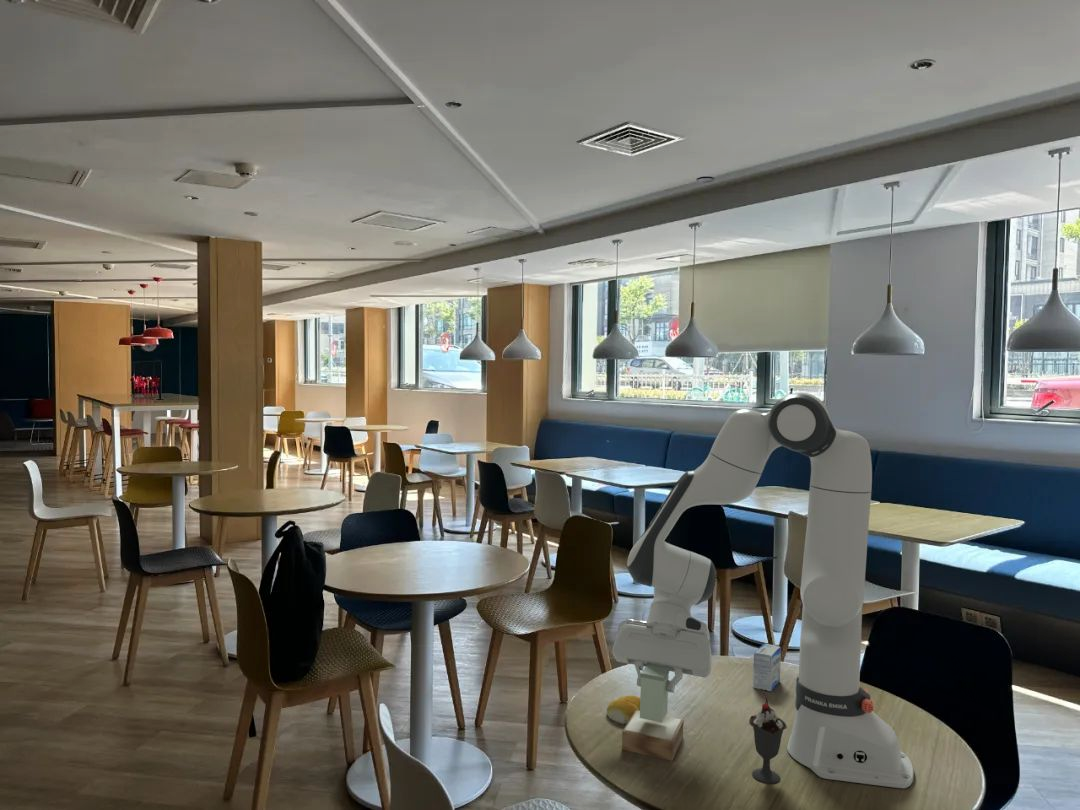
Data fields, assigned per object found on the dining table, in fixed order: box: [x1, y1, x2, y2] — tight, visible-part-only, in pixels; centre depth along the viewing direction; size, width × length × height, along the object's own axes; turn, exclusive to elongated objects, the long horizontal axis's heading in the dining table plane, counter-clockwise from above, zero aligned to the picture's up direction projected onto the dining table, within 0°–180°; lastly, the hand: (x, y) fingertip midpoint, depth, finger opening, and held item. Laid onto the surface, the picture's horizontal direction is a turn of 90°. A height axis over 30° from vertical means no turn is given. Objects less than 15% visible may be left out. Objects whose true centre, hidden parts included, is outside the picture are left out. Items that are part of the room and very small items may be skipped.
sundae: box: [748, 691, 788, 785], centre depth 135 cm, size 7×7×15 cm
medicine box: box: [752, 643, 782, 692], centre depth 176 cm, size 8×4×9 cm, turn 147°
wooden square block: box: [621, 710, 684, 761], centre depth 147 cm, size 10×10×4 cm
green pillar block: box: [639, 665, 670, 723], centre depth 146 cm, size 5×5×9 cm
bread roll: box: [606, 695, 640, 725], centre depth 159 cm, size 8×9×4 cm
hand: (655, 688), depth 147 cm, fingers closed on green pillar block, 4 cm apart
